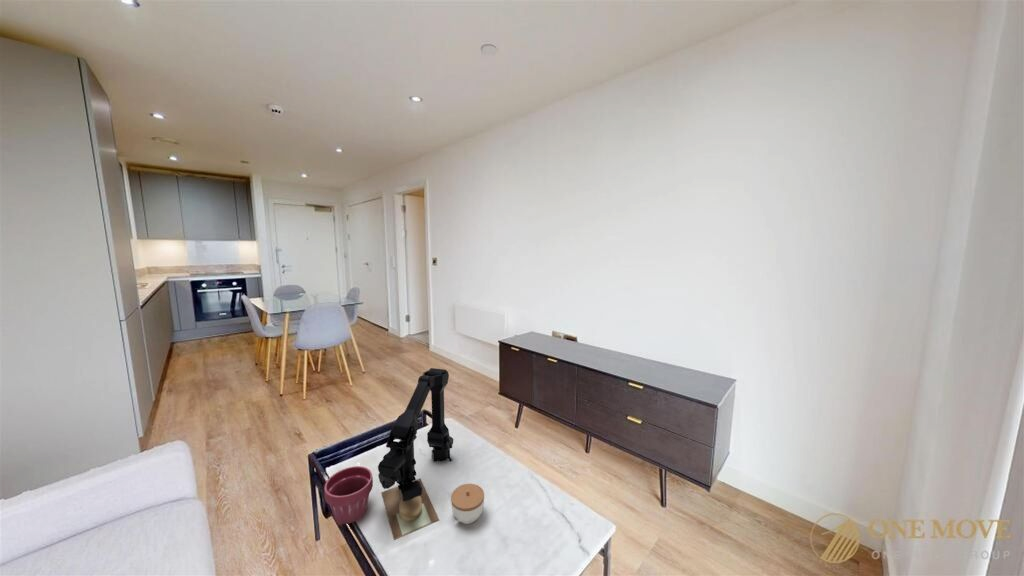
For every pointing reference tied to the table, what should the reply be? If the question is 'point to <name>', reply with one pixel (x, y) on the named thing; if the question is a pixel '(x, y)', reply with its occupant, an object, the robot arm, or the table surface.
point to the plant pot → (349, 493)
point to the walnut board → (392, 509)
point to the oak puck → (410, 509)
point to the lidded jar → (467, 502)
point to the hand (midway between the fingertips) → (407, 499)
